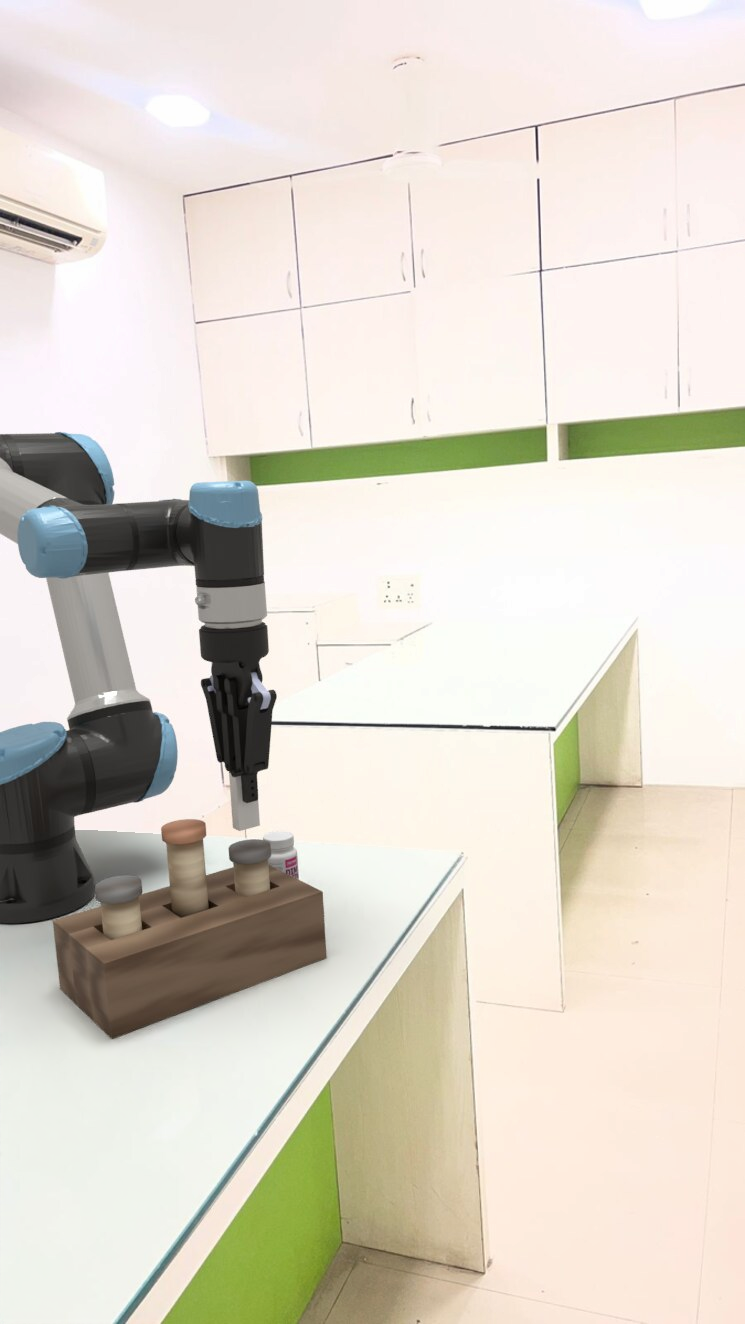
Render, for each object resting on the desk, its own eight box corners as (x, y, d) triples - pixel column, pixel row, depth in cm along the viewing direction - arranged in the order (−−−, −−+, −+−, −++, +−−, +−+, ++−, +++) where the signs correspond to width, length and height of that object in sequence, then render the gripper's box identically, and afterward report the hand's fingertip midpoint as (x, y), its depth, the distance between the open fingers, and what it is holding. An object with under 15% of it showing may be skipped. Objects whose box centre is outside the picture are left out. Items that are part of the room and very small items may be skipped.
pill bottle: (294, 904, 134) (290, 842, 133) (259, 903, 135) (254, 841, 134) (304, 889, 139) (300, 829, 137) (270, 888, 140) (265, 828, 138)
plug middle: (162, 930, 116) (153, 826, 114) (201, 918, 119) (192, 816, 117) (182, 944, 112) (173, 836, 110) (221, 931, 115) (213, 826, 113)
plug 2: (228, 945, 121) (220, 846, 119) (263, 933, 124) (256, 836, 122) (249, 959, 118) (241, 857, 116) (285, 946, 120) (278, 846, 118)
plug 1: (98, 990, 112) (87, 883, 110) (139, 976, 115) (130, 871, 113) (116, 1007, 108) (105, 896, 106) (159, 992, 111) (149, 884, 109)
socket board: (60, 989, 114) (52, 920, 113) (262, 920, 130) (258, 859, 128) (111, 1038, 103) (104, 963, 102) (326, 957, 118) (322, 891, 117)
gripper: (175, 621, 117) (190, 820, 122) (232, 632, 107) (246, 849, 111) (233, 613, 122) (245, 806, 126) (293, 624, 112) (305, 833, 116)
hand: (246, 826), depth 119 cm, fingers closed
